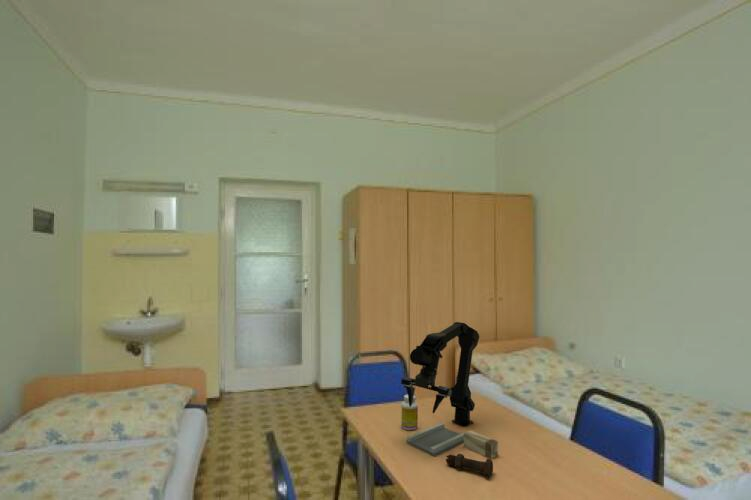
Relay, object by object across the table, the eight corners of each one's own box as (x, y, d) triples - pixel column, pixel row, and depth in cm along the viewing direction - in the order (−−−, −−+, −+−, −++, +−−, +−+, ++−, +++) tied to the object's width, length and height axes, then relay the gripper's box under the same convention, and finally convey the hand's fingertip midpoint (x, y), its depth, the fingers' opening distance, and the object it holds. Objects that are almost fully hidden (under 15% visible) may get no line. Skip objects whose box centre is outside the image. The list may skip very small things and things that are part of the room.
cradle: (440, 428, 174) (440, 422, 174) (468, 440, 164) (468, 433, 164) (406, 442, 161) (406, 436, 161) (434, 456, 151) (434, 449, 151)
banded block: (470, 443, 161) (470, 430, 161) (497, 455, 152) (497, 441, 152) (463, 447, 158) (463, 433, 158) (491, 459, 149) (491, 444, 149)
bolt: (448, 468, 146) (491, 479, 139) (443, 467, 142) (488, 478, 135) (450, 450, 149) (493, 460, 141) (446, 448, 145) (490, 458, 137)
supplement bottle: (418, 431, 172) (418, 399, 172) (401, 430, 172) (402, 399, 172) (416, 424, 178) (417, 393, 178) (401, 423, 179) (401, 393, 179)
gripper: (400, 360, 160) (391, 403, 157) (448, 372, 152) (439, 417, 148) (409, 362, 170) (401, 403, 166) (455, 373, 162) (447, 416, 158)
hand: (421, 409), depth 160 cm, fingers open, 9 cm apart
